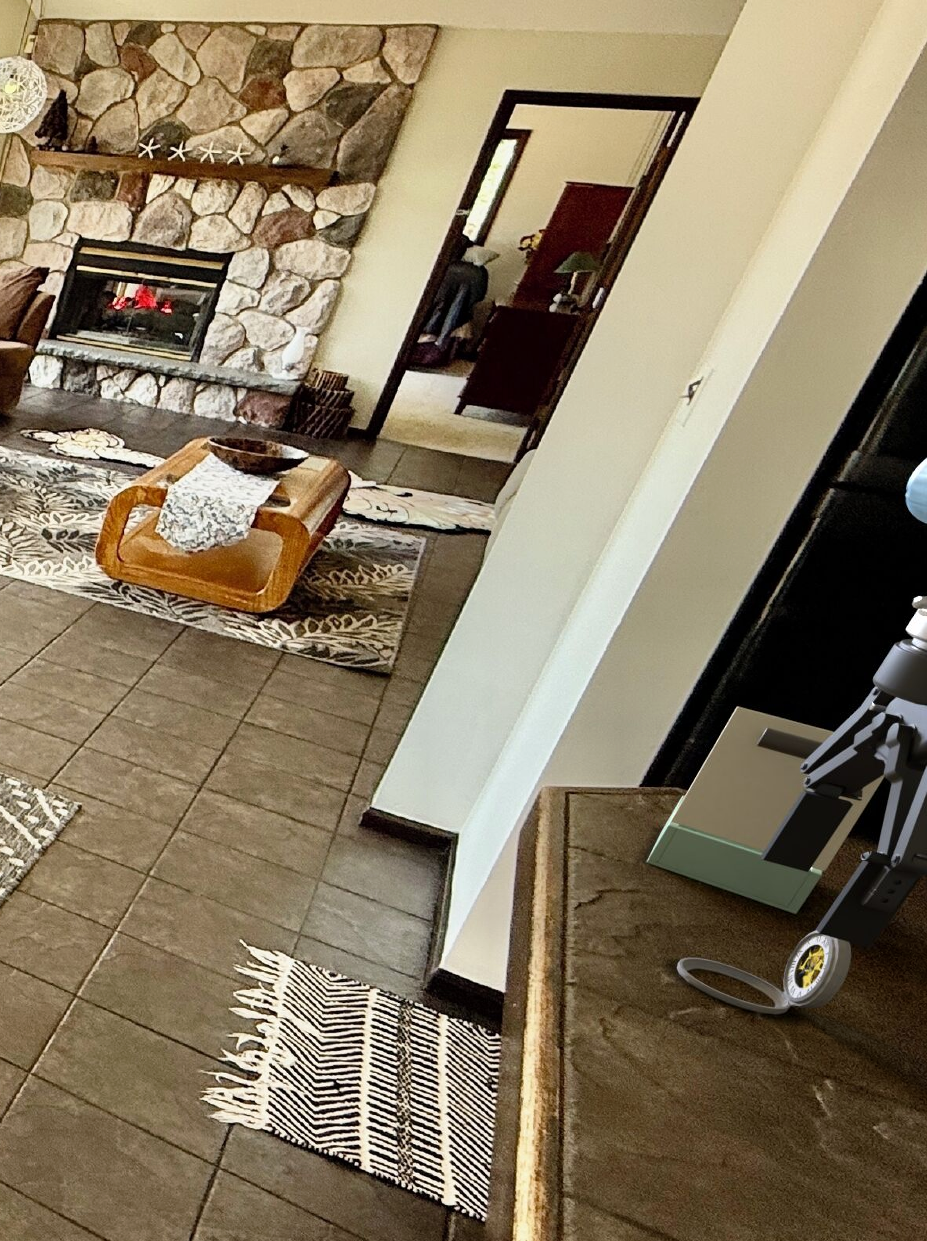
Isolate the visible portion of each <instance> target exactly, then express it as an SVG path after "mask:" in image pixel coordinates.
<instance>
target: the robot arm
mask: <svg viewBox="0 0 927 1241" xmlns="http://www.w3.org/2000/svg"><path fill="white" fill-rule="evenodd" d="M905 489H906V493H905V495H904V496H905V504H906V506H907V508H908V510H909V512H910V513H911V514H912V516H914V517H915V518H916V519H917V520H918V521H920V522H923V523H925V524H927V457H926V458H925V459H924V460H923V461H922V462H920V464H919V465H918V466H917V467H916V468H915V470H914V471H912V474H911V476H910V477H909V479H908V481H907V484H906V488H905ZM911 605H912V607H913V608H915V609H917V610H916V612H915V613H914V616H913V617H912V618H911V620H910V621H909V623H908V625H907V626H906V628H905V631H906V632H907V634H908V635H910V636H911V637H912V638H909V639H908V638H907V639H902V640H901V641H897V642H895V643H894V645H893V646H892V647H891V649H890V650H889V652H888V654H887V656H886V657H885V659H884V660H883V662H882V663H881V664H880V666H879V668H878V670H877V671H876V673H875V674H874V676H873V678H872V682H873V684H874V687H873V688H872V689H871V691H870V693H869V694H868V696H867V697H866V698H865V700H864V701H863V703H862V704H861V706H859V707H858V708H857V709H856V711H854V713H853V714H851V715H850V716H849V718H847V719H846V720H845V721H844V722H843V723H842V724H841V725H840V726H839V727H838V728H837V729H835V731H833V732H834V733H833V734H832V735H831V736H830V737H829V738H828V739H827V740H826V741H825V742H824V743H823V744H822V745H821V746H820V747H819V748H818V749H817V750H815V751H814V752H813V753H812V754H811V755H810V756H809V757H808V758H807V759H806V760H805V761H804V762H803V763H802V764H801V766H800V772H801V773H804V774H808V775H807V776H806V778H805V779H804V781H803V782H804V783H803V786H804V787H805V788H808V790H807V791H806V790H803V791H802V792H801V794H800V795H799V797H798V799H797V800H796V802H795V803H794V805H793V806H792V808H791V809H790V811H789V813H788V814H787V816H786V817H785V819H784V820H783V822H782V823H781V825H780V827H779V828H778V830H777V831H776V833H775V834H774V836H773V837H772V839H771V840H770V842H769V844H768V845H767V847H766V848H765V850H764V851H763V853H762V854H761V856H760V857H761V858H762V859H763V860H765V861H768V862H772V863H776V864H779V865H783V866H787V867H791V868H794V869H798V870H802V871H805V872H808V871H809V870H810V868H811V867H812V865H813V864H814V862H815V861H816V859H817V858H818V856H819V855H820V853H821V852H822V850H823V849H824V847H825V846H826V844H827V843H828V841H829V840H830V838H831V837H832V835H833V834H834V832H835V831H836V829H837V828H838V826H839V825H840V823H841V822H842V820H843V819H844V817H845V816H846V814H847V813H848V812H849V810H850V809H851V807H852V806H853V804H852V803H851V802H850V801H847V800H843V799H839V797H840V796H842V797H846V798H850V799H854V800H858V801H861V800H862V799H860V798H858V797H861V798H862V793H863V791H861V790H862V789H863V788H864V787H865V786H867V785H868V784H870V783H872V782H873V781H875V780H876V779H878V778H880V777H881V776H883V775H884V778H885V779H886V780H887V781H888V782H890V784H891V785H890V789H889V790H890V791H889V795H888V800H887V803H886V804H887V805H886V809H885V813H884V818H883V823H882V826H881V831H880V836H879V841H878V845H877V850H876V851H875V850H870V851H867V852H864V853H862V854H860V860H862V861H861V863H859V865H858V867H857V869H856V870H855V871H854V873H852V876H851V877H850V878H849V879H848V882H846V885H845V886H844V887H843V889H842V890H841V892H840V893H839V895H838V896H837V898H836V899H835V900H834V902H833V904H831V907H830V908H829V909H828V911H827V912H826V914H825V915H824V916H823V918H822V919H821V921H820V922H819V924H818V925H817V926H816V928H815V931H816V930H817V931H818V932H819V934H823V935H826V936H830V937H833V938H837V939H840V940H843V941H847V942H849V943H850V944H854V945H858V946H861V947H864V948H869V949H872V947H874V945H875V943H876V942H877V941H878V939H879V937H880V936H881V935H882V933H883V932H884V931H885V930H886V928H887V926H888V925H889V923H890V922H891V921H892V920H893V918H894V917H895V915H896V914H897V912H898V911H899V909H900V908H901V907H902V905H903V904H904V903H905V901H906V900H907V898H908V897H909V896H910V894H911V893H912V891H913V890H914V888H915V887H916V886H917V884H918V883H919V882H920V880H921V879H922V877H925V878H927V596H923V595H922V596H921V595H918V596H916V597H914V598H913V601H912V603H911ZM825 761H828V762H827V763H824V762H825Z"/></svg>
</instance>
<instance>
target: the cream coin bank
mask: <svg viewBox="0 0 927 1241" xmlns="http://www.w3.org/2000/svg"><path fill="white" fill-rule="evenodd" d="M834 732H835V731H832V730H828V729H824V728H820V727H816V726H812V725H809V724H804V723H802V722H797V721H793V720H790V719H786V718H782V717H780V716H775V715H771V714H768V713H764V712H760V711H756V710H752V709H748V708H745V707H741V706H736V708H735V709H734V711H733V712H732V714H731V716H730V718H729V719H728V721H727V723H726V725H725V727H724V728H723V730H722V731H721V733H720V735H719V737H718V738H717V740H716V742H715V744H714V745H713V747H712V749H711V751H710V752H709V753H708V755H707V757H706V759H705V761H704V762H703V764H702V766H701V768H700V770H699V771H698V773H697V775H696V777H695V778H694V780H693V782H692V783H691V785H690V787H689V789H688V790H687V792H686V794H685V795H684V796H685V797H684V799H683V801H682V802H681V804H680V806H679V807H678V809H677V811H676V813H675V814H674V816H673V818H672V819H671V821H672V822H674V823H677V824H680V825H683V826H686V827H690V828H693V829H696V830H699V831H702V832H705V833H708V834H711V835H714V836H717V837H720V838H723V839H727V840H730V841H733V842H736V843H739V844H742V845H745V846H748V847H751V848H754V849H757V850H760V851H764V850H765V848H766V847H767V845H768V844H769V842H770V840H771V839H772V837H773V836H774V834H775V833H776V831H777V830H778V828H779V827H780V825H781V823H782V822H783V820H784V819H785V817H786V816H787V814H788V813H789V811H790V809H791V808H792V806H793V805H794V803H795V802H796V800H797V799H798V797H799V795H800V794H801V792H802V791H803V790H806V791H807V790H808V788H805V787H804V786H803V783H804V782H803V781H804V779H805V778H806V776H807V775H808V774H804V773H801V772H800V766H801V764H802V763H803V762H804V761H805V760H806V759H807V758H808V757H809V756H810V755H811V754H812V753H813V752H814V751H815V750H817V749H818V748H819V747H820V746H821V745H822V744H823V743H824V742H825V741H826V740H827V739H828V738H829V737H830V736H831V735H832V734H833V733H834ZM827 762H828V761H825V762H824V763H827ZM884 778H885V777H884V775H883V776H881V777H880V778H878V779H876V780H875V781H873V782H872V783H870V784H868V785H867V786H865V787H864V788H863V789H862V790H861V791H863V793H862V798H861V797H858V798H860V799H862V800H861V801H858V800H854V799H850V798H846V797H842V796H840V797H839V799H843V800H847V801H850V802H851V803H852V804H853V806H852V807H851V809H850V810H849V812H848V813H847V814H846V816H845V817H844V819H843V820H842V822H841V823H840V825H839V826H838V828H837V829H836V831H835V832H834V834H833V835H832V837H831V838H830V840H829V841H828V843H827V844H826V846H825V847H824V849H823V850H822V852H821V853H820V855H819V856H818V858H817V859H816V861H815V862H814V864H813V865H812V867H813V868H816V869H819V870H822V872H825V871H826V870H827V869H828V867H829V866H830V864H831V863H832V861H833V860H834V858H835V856H836V854H837V853H838V852H839V850H840V848H841V846H842V845H843V843H844V842H845V840H846V839H847V837H848V835H849V834H850V832H851V831H852V829H853V827H854V826H855V825H856V823H857V821H858V819H859V818H860V816H861V815H862V813H863V811H864V810H865V808H866V807H867V805H868V804H869V802H870V800H871V799H872V797H873V796H874V794H875V792H876V791H877V790H878V787H880V785H881V783H882V781H883V780H884Z"/></svg>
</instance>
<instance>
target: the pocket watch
mask: <svg viewBox="0 0 927 1241" xmlns="http://www.w3.org/2000/svg"><path fill="white" fill-rule="evenodd" d="M851 959H852V947H851V943H850V942H847V941H843V940H840V939H837V938H833V937H830V936H826V935H823V934H819V932H818V931H817V930H816V929H815V930H814V931H812V932H809V933H807V935H805V937H803V938H802V939H801V940H800V941H799V942H798V944H797V945H796V947H795V948H794V949H793V951H792V952H791V954H790V956H789V958H788V961H787V963H786V965H785V969H784V974H783V991H782V990H781V989H779V988H777V987H776V986H774V985H773V984H771V983H770V982H768V981H766V980H764V979H763V978H760V977H758V976H756V975H754V974H753V973H749V972H747V971H745V970H743V969H739V968H738V967H736V966H731V965H728V964H726V963H722V962H719V961H716V960H711V959H705V958H700V957H684V958H682V959H680V960H679V961H678V962H677V966H676V969H677V972H678V974H679V975H680V976H681V977H682V978H683V980H685V982H687V983H688V984H689V985H691V986H693V987H695V988H696V989H698V990H699V991H701V992H702V993H705V994H706V995H709V996H710V997H713V998H714V999H717V1000H719V1001H722V1002H724V1003H727V1004H729V1005H732V1006H734V1007H738V1008H741V1009H744V1010H747V1011H751V1012H755V1013H759V1014H766V1015H767V1014H768V1015H781V1014H785V1013H787V1012H788V1010H789V1009H790V1008H791V1007H792V1008H795V1007H800V1008H803V1009H811V1010H813V1009H819V1008H821V1007H823V1006H825V1005H826V1004H827V1003H829V1002H830V1001H831V1000H832V999H833V997H835V995H836V994H837V993H838V991H839V990H840V988H841V987H842V986H843V984H844V982H845V980H846V978H847V976H848V972H849V969H850V965H851V961H852V960H851ZM695 969H701V970H705V971H711V972H715V973H720V974H722V975H725V976H728V977H731V978H733V979H735V980H739V981H741V982H744V983H746V984H747V985H749V986H751V987H753V988H755V989H756V990H759V992H762V993H763V994H765V995H766V996H767V997H768V998H770V999H771V1000H772V1001H773V1002H774V1006H766V1005H761V1004H757V1003H753V1002H749V1001H746V1000H743V999H739V998H737V997H734V996H732V995H729V994H726V993H724V992H722V991H719V990H717V989H715V988H713V987H712V986H709V985H707V984H706V983H704V982H702V981H701V980H698V979H697V978H695V977H694V976H693V975H692V974H690V973H689V972H688V971H691V970H695Z"/></svg>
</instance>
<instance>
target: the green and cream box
mask: <svg viewBox="0 0 927 1241" xmlns="http://www.w3.org/2000/svg"><path fill="white" fill-rule="evenodd" d="M684 797H685V795H682V796H681V798H680V799H679V801H678V803H677V804H676V806H675V808H674V809H673V811H672V813H671V814H670V816H669V818H668V819H667V821H666V823H665V824H664V827H663V828H662V830H661V832H660V833H659V836H658V838H657V839H656V842H655V843H654V846H653V848H652V850H651V852H650V854H649V856H648V858H647V860H646V863H647V864H650V865H653V866H656V867H659V868H661V869H664V870H667V871H670V872H673V873H676V874H679V875H682V876H685V877H688V878H691V879H693V880H696V881H699V882H701V883H705V884H707V885H711V886H713V887H716V888H719V889H722V890H726V891H728V892H731V893H734V894H737V895H740V896H743V897H745V898H749V899H751V900H754V901H757V902H760V903H762V904H765V905H769V906H771V907H774V908H776V909H777V908H778V909H780V910H783V911H785V912H789V913H792V914H795V915H796V914H797V913H798V912H799V910H800V909H801V907H802V906H803V904H804V903H805V902H806V900H807V899H808V897H809V895H810V894H811V892H812V891H813V889H814V888H815V886H816V885H817V883H818V882H819V880H820V879H821V877H822V875H823V871H822V870H819V869H816V868H813V867H811V868H810V870H809V871H808V872H805V871H802V870H798V869H794V868H791V867H787V866H783V865H779V864H776V863H772V862H768V861H765V860H763V859H762V858H761V857H760V856H761V854H762V853H763V851H760V850H757V849H754V848H751V847H748V846H745V845H742V844H739V843H736V842H733V841H730V840H727V839H723V838H720V837H717V836H714V835H711V834H708V833H705V832H702V831H699V830H696V829H693V828H690V827H686V826H683V825H680V824H677V823H674V822H672V821H671V819H672V818H673V816H674V814H675V813H676V811H677V809H678V807H679V806H680V804H681V802H682V801H683V799H684Z"/></svg>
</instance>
